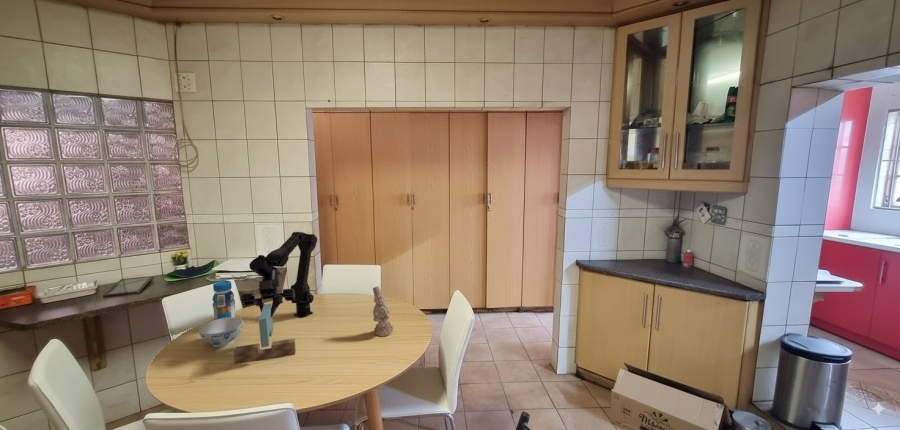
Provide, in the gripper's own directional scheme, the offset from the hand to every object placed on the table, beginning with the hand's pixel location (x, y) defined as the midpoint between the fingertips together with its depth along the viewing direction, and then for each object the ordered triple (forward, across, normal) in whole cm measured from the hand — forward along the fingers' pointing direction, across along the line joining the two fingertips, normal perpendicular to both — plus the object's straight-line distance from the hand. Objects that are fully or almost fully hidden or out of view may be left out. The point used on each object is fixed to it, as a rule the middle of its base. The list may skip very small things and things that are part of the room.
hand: (267, 317), depth 134 cm
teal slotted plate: (+7, 0, +3) cm, 8 cm away
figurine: (+9, +44, +10) cm, 46 cm away
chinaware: (+1, -19, +19) cm, 27 cm away
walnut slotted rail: (+13, 0, +6) cm, 14 cm away
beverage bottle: (-12, -22, +32) cm, 40 cm away
